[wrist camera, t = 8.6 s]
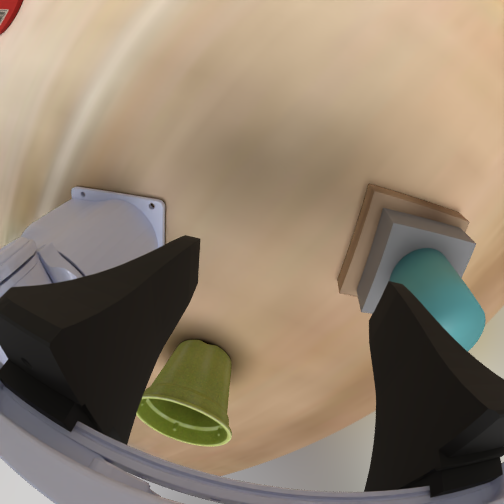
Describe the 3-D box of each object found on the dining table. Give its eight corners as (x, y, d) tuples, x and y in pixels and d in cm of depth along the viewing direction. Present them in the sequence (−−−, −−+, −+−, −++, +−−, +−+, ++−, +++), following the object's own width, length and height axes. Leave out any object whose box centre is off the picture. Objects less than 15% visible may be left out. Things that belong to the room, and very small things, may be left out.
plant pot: (264, 374, 29) (251, 445, 22) (199, 388, 33) (178, 447, 25) (212, 315, 26) (182, 391, 19) (147, 339, 30) (113, 399, 22)
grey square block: (356, 290, 20) (361, 311, 18) (382, 207, 17) (393, 222, 15) (428, 301, 20) (438, 321, 18) (460, 228, 17) (476, 243, 14)
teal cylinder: (379, 300, 18) (397, 363, 13) (405, 240, 15) (439, 296, 11) (431, 310, 17) (456, 368, 12) (459, 256, 15) (498, 308, 10)
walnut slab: (336, 274, 23) (339, 293, 21) (366, 180, 19) (374, 191, 17) (418, 291, 22) (427, 309, 20) (455, 209, 18) (469, 222, 16)
